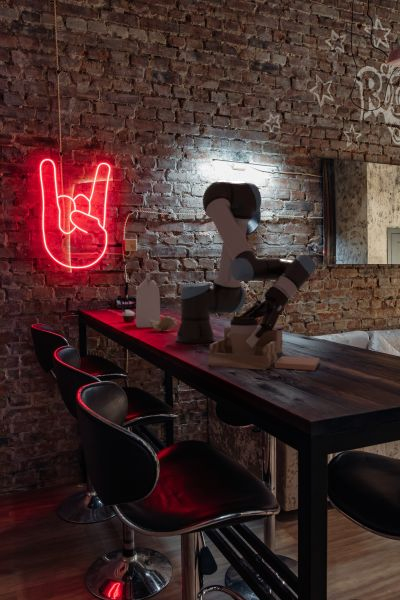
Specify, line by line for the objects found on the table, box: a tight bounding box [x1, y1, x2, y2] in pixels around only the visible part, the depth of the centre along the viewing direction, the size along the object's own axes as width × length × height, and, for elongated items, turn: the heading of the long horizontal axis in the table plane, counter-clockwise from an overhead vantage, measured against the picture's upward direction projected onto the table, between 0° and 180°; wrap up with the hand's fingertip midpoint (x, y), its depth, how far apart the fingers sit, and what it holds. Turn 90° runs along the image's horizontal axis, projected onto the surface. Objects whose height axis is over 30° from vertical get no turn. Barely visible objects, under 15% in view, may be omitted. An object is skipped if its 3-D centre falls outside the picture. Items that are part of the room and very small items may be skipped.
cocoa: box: [119, 299, 136, 323], centre depth 282 cm, size 10×6×12 cm, turn 103°
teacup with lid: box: [258, 322, 284, 354], centre depth 194 cm, size 12×9×12 cm
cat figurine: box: [150, 315, 179, 333], centre depth 246 cm, size 8×7×12 cm
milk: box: [135, 272, 162, 328], centre depth 266 cm, size 12×12×26 cm
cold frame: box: [208, 326, 278, 371], centre depth 172 cm, size 18×18×10 cm
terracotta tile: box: [274, 355, 320, 371], centre depth 168 cm, size 12×12×2 cm
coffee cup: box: [229, 315, 259, 355], centre depth 172 cm, size 9×9×15 cm
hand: (238, 341), depth 171 cm, fingers open, 13 cm apart
